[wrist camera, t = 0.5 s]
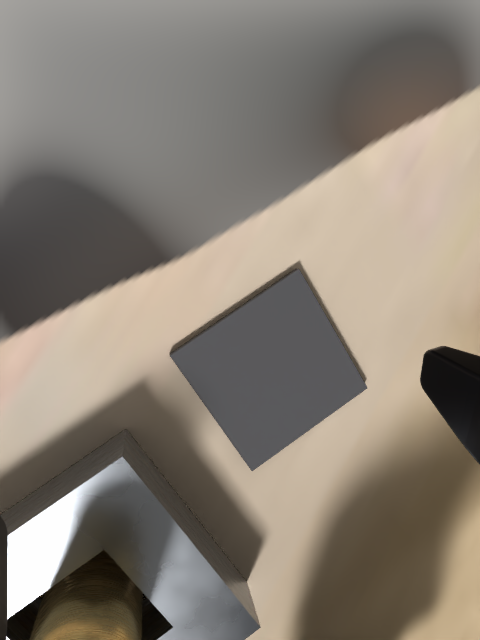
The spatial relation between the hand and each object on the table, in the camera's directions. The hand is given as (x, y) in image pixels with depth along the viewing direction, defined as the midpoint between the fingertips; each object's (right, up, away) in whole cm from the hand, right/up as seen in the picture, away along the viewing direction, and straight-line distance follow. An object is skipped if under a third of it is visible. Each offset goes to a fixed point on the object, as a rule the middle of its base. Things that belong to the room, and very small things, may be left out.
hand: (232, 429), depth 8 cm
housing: (-7, -12, +14) cm, 20 cm away
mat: (+2, -1, +14) cm, 14 cm away
